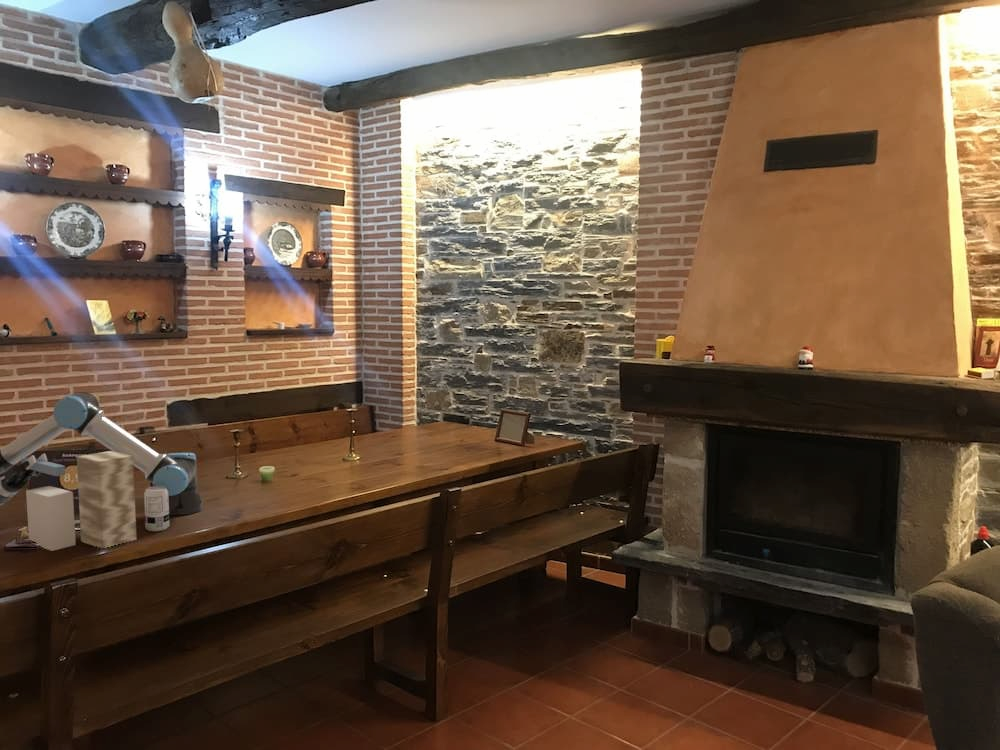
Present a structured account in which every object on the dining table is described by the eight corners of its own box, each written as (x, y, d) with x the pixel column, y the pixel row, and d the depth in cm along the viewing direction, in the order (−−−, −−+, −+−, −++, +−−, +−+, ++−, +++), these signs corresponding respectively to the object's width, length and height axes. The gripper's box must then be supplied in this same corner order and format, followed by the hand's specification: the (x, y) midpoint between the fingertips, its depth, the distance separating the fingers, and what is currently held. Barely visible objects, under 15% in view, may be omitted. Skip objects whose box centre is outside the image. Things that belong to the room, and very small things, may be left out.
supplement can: (140, 528, 295) (139, 488, 293) (160, 523, 302) (159, 484, 300) (153, 533, 291) (152, 493, 289) (174, 527, 298) (173, 488, 295)
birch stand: (113, 532, 291) (110, 450, 288) (136, 539, 283) (132, 455, 280) (81, 541, 281) (76, 456, 278) (103, 548, 273) (99, 461, 270)
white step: (52, 537, 286) (49, 485, 284) (75, 544, 277) (72, 492, 275) (29, 542, 279) (26, 490, 277) (51, 550, 271) (49, 496, 269)
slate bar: (30, 465, 285) (29, 457, 284) (65, 474, 272) (64, 465, 272) (21, 467, 282) (21, 458, 282) (56, 476, 269) (55, 467, 269)
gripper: (38, 488, 296) (66, 464, 284) (-10, 497, 283) (18, 472, 270) (32, 469, 297) (60, 444, 285) (-16, 477, 284) (11, 451, 272)
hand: (39, 458), depth 278 cm, fingers closed on slate bar, 3 cm apart
